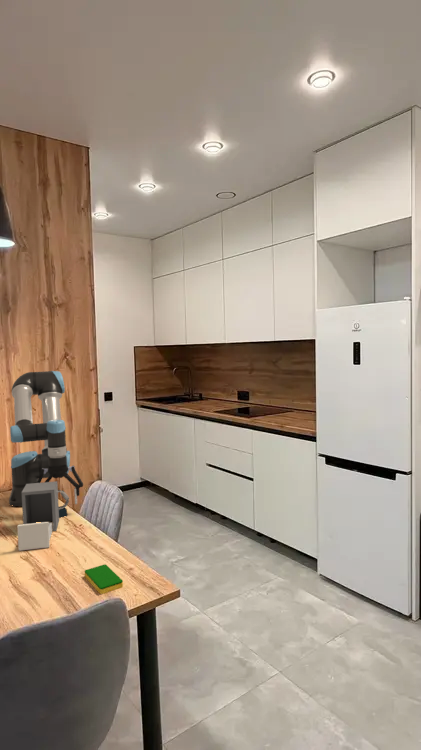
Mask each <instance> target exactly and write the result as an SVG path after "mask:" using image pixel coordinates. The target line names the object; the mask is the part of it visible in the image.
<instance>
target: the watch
mask: <svg viewBox="0 0 421 750" xmlns="http://www.w3.org/2000/svg"><path fill="white" fill-rule="evenodd" d="M58 493H60V495H61V497H62V498H63V499H64V500H65V503H64V504H63V505H61V506H59V519H61V517H62V518H65V517H64V516H66V517H68V509H67V508H66V507H67V506H68V504H69V502H70V496H69V495H68V494H67V493H66V491H65V490H63V489H62V490H61V489H58Z"/></svg>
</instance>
